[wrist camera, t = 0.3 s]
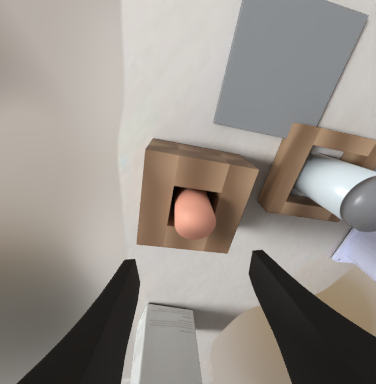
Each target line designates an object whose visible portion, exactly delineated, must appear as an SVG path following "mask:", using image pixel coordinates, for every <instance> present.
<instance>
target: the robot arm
mask: <svg viewBox="0 0 376 384" xmlns="http://www.w3.org/2000/svg"><path fill="white" fill-rule="evenodd" d="M332 259H333V260H334V261H338V262H347V263H355V264H356V265H357V266H358V267H359V268H360V269H362V270H363V271H364V272H365V273H366V274H367V275H368V276H370V277H371V278H372V279H373V280H374V281H376V231H374V232H361V231H358V230H356V229H355V228H352V230H351V231H350V232H349V234H348V235H347V237H346V238H345V239H344V241H343V242H342V244H341V245H340V246H339V248H338V249H337V251H336V252H335V253H334V255H333V256H332ZM249 276H250V280H251V283H252V286H253V289H254V291H255V294H256V296H257V298H258V300H259V303H260V305H261V307H262V309H263V311H264V313H265V316H266V318H267V320H268V322H269V324H270V326H271V329H272V331H273V333H274V336H275V338H276V340H277V343H278V345H279V348H280V351H281V353H282V356H283V359H284V362H285V365H286V368H287V370H288V373H289V376H290V379H291V382H292V384H376V337H375V336H373V335H371V334H370V333H368V332H367V331H365V330H363V329H362V328H360V327H359V326H357V325H356V324H354V323H353V322H351V321H350V320H348V319H347V318H345V317H344V316H342V315H341V314H339V313H338V312H336V311H335V310H334V309H332V308H331V307H329V306H328V305H327V304H325V303H324V302H322V301H321V300H320V299H318V298H317V297H316V296H315V295H313V294H312V293H311V292H310V291H308V290H307V289H306V288H305V287H303V286H302V285H301V284H300V283H298V282H297V281H296V280H295V279H294V278H293V277H292V276H290V275H289V274H288V273H287V272H286V271H285V270H284V269H282V268H281V267H280V266H279V265H278V264H277V263H276V262H275V261H274V260H273V259H272V258H271V257H269V256H268V255H267V254H266V253H265V252H264V251H263V250H255V251H253V252H252V258H251V263H250V269H249ZM139 287H140V280H139V275H138V270H137V266H136V261H135V259H129V260H124V261H123V263H122V264H121V266H120V267H119V269H118V270H117V272H116V273H115V275H114V276H113V277H112V279H111V280H110V282H109V283H108V284H107V286H106V287H105V289H104V290H103V291H102V293H101V294H100V295H99V297H98V298H97V299H96V300H95V302H94V303H93V304H92V306H91V307H90V308H89V309H88V310H87V312H86V313H85V314H84V315H83V317H82V318H81V319H80V320H79V321H78V322H77V323H76V324H75V326H74V327H73V328H72V329H71V330H70V331H69V332H68V333H67V335H65V337H64V338H63V339H62V340H61V341H60V342H59V343H58V344H57V345H56V346H55V347H54V348H53V349H52V350H51V351H50V352H49V353H48V354H47V355H46V356H45V357H44V358H43V359H42V360H41V361H40V362H39V363H38V364H37V365H36V366H35V367H34V368H33V369H32V370H31V371H29V373H27V374H26V375H25V376H24V377H23V378H22V379H21V380H20V381H19V382H18V383H17V384H121V379H122V372H123V366H124V359H125V354H126V349H127V344H128V340H129V336H130V331H131V327H132V323H133V319H134V315H135V311H136V306H137V302H138V295H139Z"/></svg>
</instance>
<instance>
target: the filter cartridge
mask: <svg viewBox="0 0 376 384" xmlns="http://www.w3.org/2000/svg"><path fill="white" fill-rule="evenodd" d="M293 187H294V188H296V189H297V190H299V191H300V192H301V193H303V194H304V195H306V196H307V197H309V198H310V199H312V200H313V201H315V202H316V203H318V204H319V205H321V206H322V207H324V208H325V209H327V210H328V211H330V212H331V213H333V214H334V215H336V216H337V217H338V218H340V219H341V220H343V221H344V222H346V223H347V224H349V225H350V226H352V227H353V228H355V229H356V230H358V231H361V232H374V231H376V172H375V171H372V170H369V169H366V168H363V167H360V166H357V165H353V164H350V163H347V162H344V161H341V160H338V159H335V158H332V157H329V156H326V155H322V154H319V153H309V154H308V156H307V158H306V160H305V163H304V165H303V167H302V169H301V171H300V173H299V175H298V177H297V179H296V181H295V183H294V185H293Z"/></svg>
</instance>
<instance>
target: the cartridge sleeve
mask: <svg viewBox="0 0 376 384" xmlns="http://www.w3.org/2000/svg"><path fill="white" fill-rule="evenodd" d="M313 145H315V146H320V147H325V148H330V149H334V150H339V151H344V154H343V156H342V157H341V159H340V160H341V161H344V162H347V163H350V164H353V165H357V166H360V167H363V168H366V169H369V170H372V171H373V170H374V168H375V167H376V140H372V139H368V138H363V137H359V136H355V135H350V134H346V133H341V132H337V131H332V130H328V129H324V128H319V127H315V126H310V125H306V124H298V123H293V124H292V126H291V129H290V131H289V134H288V136H287V138H283V139H282V142H281V144H280V147H279V149H278V151H277V154H276V156H275V159H274V161H273V164H272V166H271V169H270V171H269V173H268V176H267V178H266V181H265V183H264V186H263V188H262V191H261V193H260V196H259V198H258V200H257V201H258V202H259V204H260V205H261V206H262V207H263V208H264V209H265V210H266V212H270V213H277V214H284V215H291V216H298V217H305V218H312V219H319V220H326V221H333V222H339V221H340V220H341V219H340V218H338V217H337V216H336V215H334V214H333V213H331V212H330V211H328V210H327V209H325V208H324V207H322V206H321V205H319V204H318V203H316V202H315V201H313V200H312V199H310V198H309V197H303V196H297V195H291V194H289V193H290V191H291V189H292V187H293V185H294V183H295V181H296V179H297V177H298V175H299V173H300V171H301V169H302V167H303V165H304V163H305V160H306V158H307V156H308V154H309V152H310V150H311V148H312V146H313Z"/></svg>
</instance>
